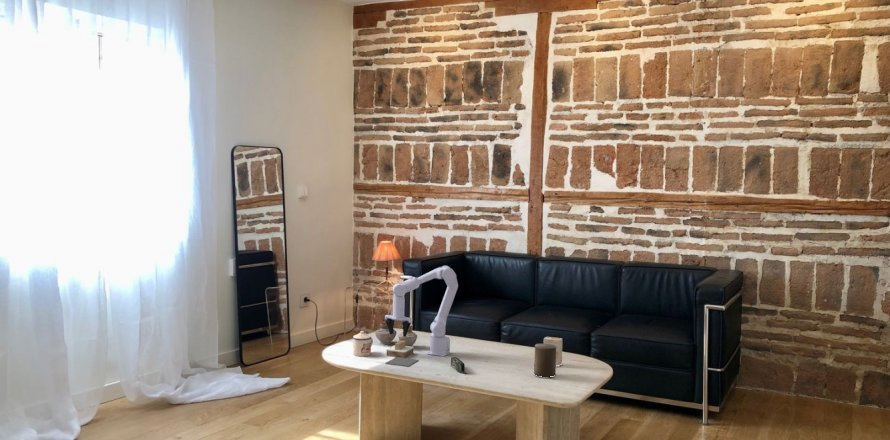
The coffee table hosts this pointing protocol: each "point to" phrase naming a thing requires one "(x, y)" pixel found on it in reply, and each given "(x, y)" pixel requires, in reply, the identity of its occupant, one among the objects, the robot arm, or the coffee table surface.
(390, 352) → the tea box
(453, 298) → the robot arm
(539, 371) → the pillar candle
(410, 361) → the mat
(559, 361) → the supplement box
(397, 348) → the lid
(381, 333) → the pottery
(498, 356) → the coffee table surface
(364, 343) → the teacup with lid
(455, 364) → the dark green stone
